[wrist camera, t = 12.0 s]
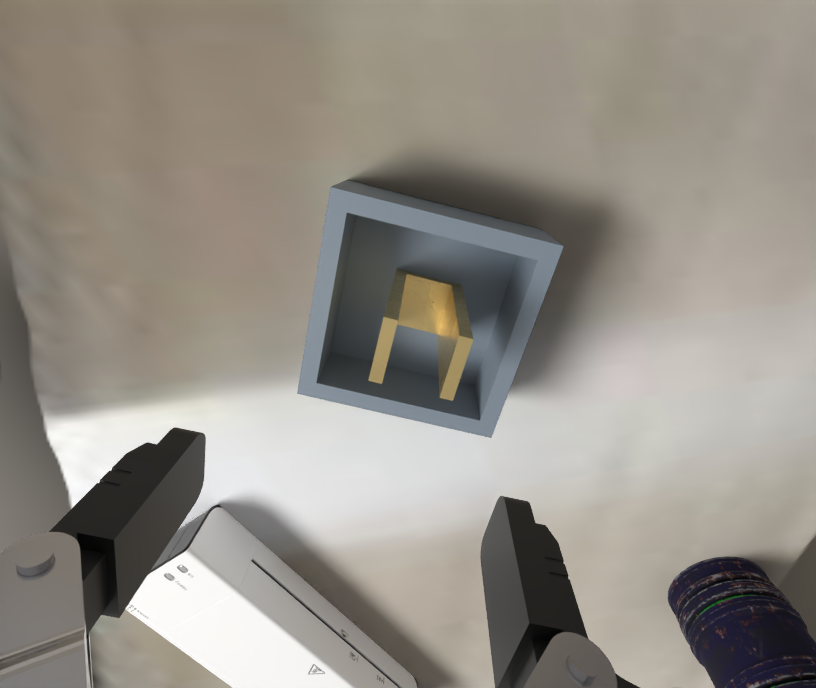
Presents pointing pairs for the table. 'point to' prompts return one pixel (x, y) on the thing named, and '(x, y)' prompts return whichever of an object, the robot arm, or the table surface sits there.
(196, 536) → the laminator
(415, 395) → the box
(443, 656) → the table surface
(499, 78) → the table surface
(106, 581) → the robot arm
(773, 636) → the storage jar
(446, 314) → the bracket
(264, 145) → the table surface
